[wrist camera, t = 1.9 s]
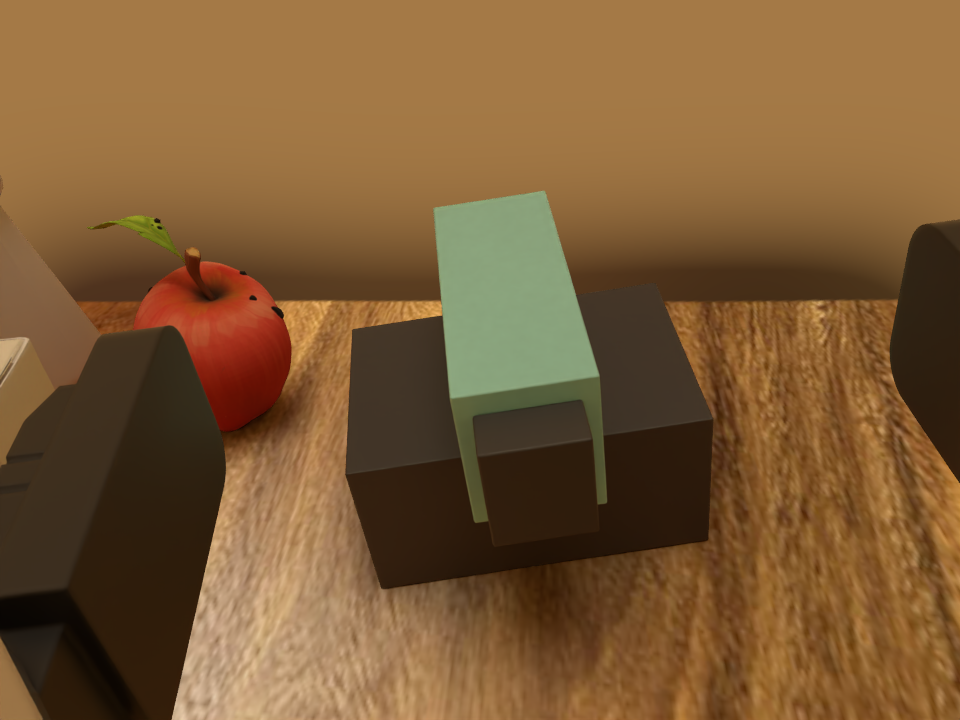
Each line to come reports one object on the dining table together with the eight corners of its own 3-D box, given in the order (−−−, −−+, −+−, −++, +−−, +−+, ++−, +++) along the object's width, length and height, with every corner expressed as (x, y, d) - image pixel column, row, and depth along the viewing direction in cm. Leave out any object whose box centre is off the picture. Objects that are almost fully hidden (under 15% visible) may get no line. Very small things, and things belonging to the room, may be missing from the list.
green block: (453, 320, 35) (432, 207, 32) (555, 305, 35) (544, 189, 32) (478, 566, 26) (453, 439, 23) (618, 545, 26) (611, 415, 23)
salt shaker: (133, 354, 47) (23, 116, 39) (101, 430, 42) (-32, 179, 34) (24, 368, 47) (-109, 135, 39) (-20, 444, 43) (-180, 199, 35)
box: (-22, 659, 33) (-203, 439, 26) (23, 564, 36) (-127, 347, 29) (119, 647, 33) (-28, 420, 26) (151, 552, 36) (29, 329, 29)
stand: (656, 397, 39) (655, 282, 35) (708, 540, 33) (713, 418, 29) (381, 439, 39) (351, 328, 36) (381, 589, 33) (344, 474, 29)
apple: (325, 357, 44) (270, 173, 38) (300, 456, 39) (230, 261, 33) (175, 370, 45) (97, 191, 39) (130, 468, 40) (31, 280, 34)
